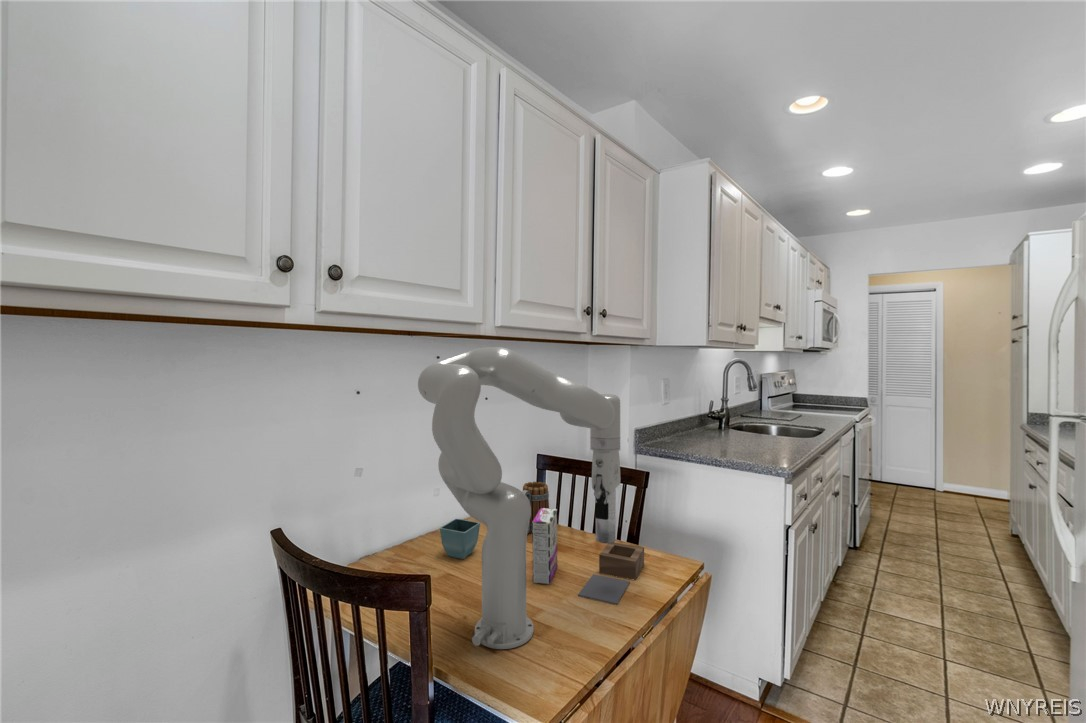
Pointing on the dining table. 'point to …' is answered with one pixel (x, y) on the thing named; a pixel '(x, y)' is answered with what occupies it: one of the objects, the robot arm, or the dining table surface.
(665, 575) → the dining table surface
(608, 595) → the rubber mat
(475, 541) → the flower pot
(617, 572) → the eye block
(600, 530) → the metal peg
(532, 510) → the mug
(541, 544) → the candy bar box
